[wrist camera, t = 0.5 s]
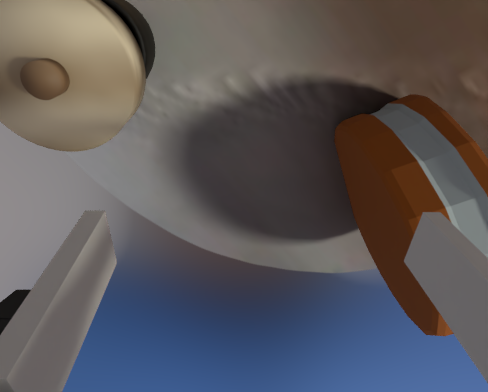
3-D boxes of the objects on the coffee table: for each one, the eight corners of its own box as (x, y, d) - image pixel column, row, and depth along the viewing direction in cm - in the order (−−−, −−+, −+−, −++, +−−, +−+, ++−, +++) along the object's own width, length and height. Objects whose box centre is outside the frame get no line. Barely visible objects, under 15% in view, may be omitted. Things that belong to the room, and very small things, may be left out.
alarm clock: (426, 219, 47) (568, 370, 27) (360, 240, 48) (451, 398, 29) (409, 72, 36) (624, 149, 16) (324, 106, 37) (431, 213, 18)
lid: (-23, -23, 22) (-90, -31, 17) (139, -8, 23) (117, -12, 18) (21, 129, 28) (-21, 155, 23) (150, 137, 29) (135, 163, 24)
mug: (43, 55, 33) (-17, 71, 25) (122, -28, 30) (83, -41, 22) (105, 116, 37) (71, 148, 29) (182, 47, 34) (168, 61, 25)
